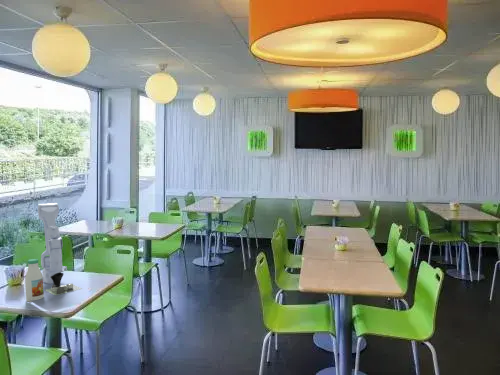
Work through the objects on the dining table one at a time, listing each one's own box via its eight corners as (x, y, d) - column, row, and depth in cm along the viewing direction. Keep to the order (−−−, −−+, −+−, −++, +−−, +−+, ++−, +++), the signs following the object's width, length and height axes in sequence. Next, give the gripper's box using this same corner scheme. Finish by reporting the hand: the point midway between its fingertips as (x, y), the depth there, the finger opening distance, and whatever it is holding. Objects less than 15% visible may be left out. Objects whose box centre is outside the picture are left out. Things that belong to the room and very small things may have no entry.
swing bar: (73, 287, 225) (73, 281, 225) (73, 289, 222) (72, 283, 222) (52, 290, 222) (51, 284, 222) (51, 292, 219) (51, 285, 218)
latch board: (44, 292, 223) (44, 285, 223) (71, 285, 233) (70, 279, 233) (55, 297, 214) (54, 290, 214) (82, 290, 224) (82, 283, 224)
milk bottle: (25, 303, 206) (23, 262, 204) (26, 298, 213) (24, 258, 211) (43, 301, 209) (41, 260, 207) (44, 296, 216) (42, 257, 215)
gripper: (53, 265, 214) (55, 292, 215) (71, 258, 228) (72, 283, 229) (41, 265, 215) (42, 291, 216) (59, 257, 229) (60, 282, 231)
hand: (57, 287), depth 223 cm, fingers closed, pressing on swing bar
